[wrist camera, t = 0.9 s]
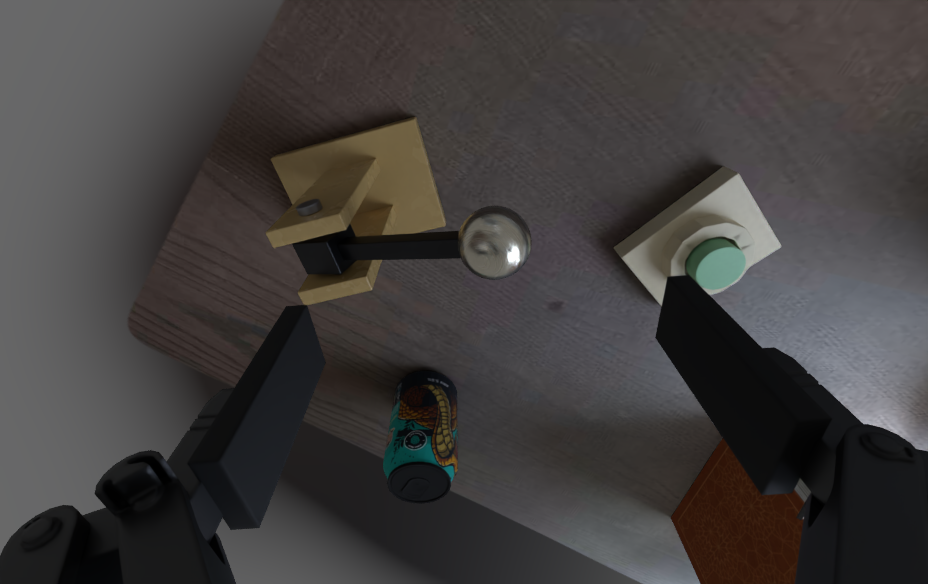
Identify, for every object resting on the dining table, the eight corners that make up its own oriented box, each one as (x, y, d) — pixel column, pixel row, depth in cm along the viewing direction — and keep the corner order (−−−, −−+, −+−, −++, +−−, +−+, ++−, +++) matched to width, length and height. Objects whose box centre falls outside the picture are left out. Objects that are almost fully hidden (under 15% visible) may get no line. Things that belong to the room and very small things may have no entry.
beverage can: (468, 380, 47) (472, 475, 37) (439, 418, 50) (435, 515, 40) (412, 357, 45) (400, 450, 35) (386, 398, 49) (367, 494, 38)
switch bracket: (415, 116, 33) (394, 158, 21) (446, 220, 37) (442, 303, 26) (275, 155, 34) (181, 215, 22) (321, 251, 39) (263, 344, 27)
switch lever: (533, 190, 20) (510, 223, 17) (544, 256, 22) (525, 295, 19) (318, 211, 27) (278, 237, 24) (341, 260, 28) (305, 289, 26)
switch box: (723, 165, 35) (752, 179, 32) (766, 236, 39) (796, 255, 35) (613, 247, 39) (628, 267, 36) (661, 305, 43) (679, 328, 39)
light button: (721, 228, 34) (733, 237, 33) (741, 260, 36) (754, 269, 34) (677, 258, 36) (687, 268, 34) (698, 287, 37) (709, 298, 36)
